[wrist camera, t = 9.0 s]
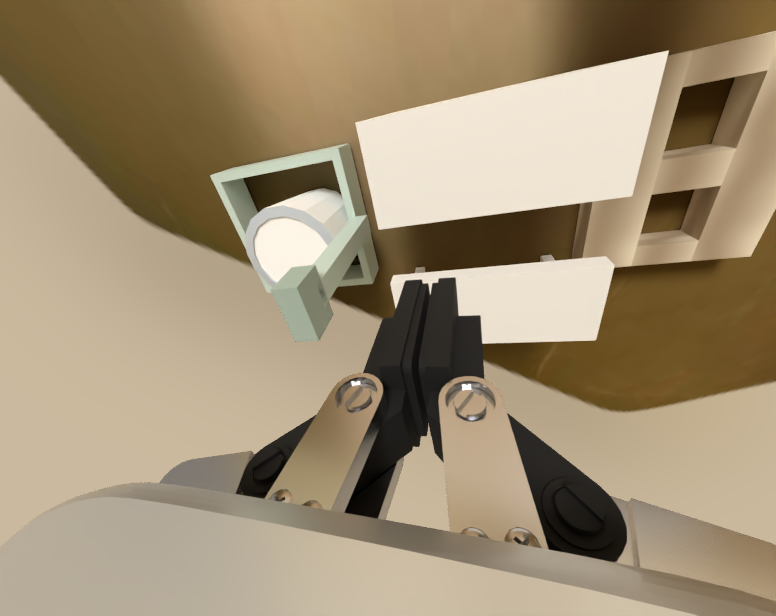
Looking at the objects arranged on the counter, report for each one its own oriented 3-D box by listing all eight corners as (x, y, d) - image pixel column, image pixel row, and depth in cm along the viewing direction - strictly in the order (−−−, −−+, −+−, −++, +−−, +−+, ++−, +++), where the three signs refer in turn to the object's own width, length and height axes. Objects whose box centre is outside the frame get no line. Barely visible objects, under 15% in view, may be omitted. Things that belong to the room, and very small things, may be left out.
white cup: (352, 270, 28) (326, 314, 22) (283, 239, 27) (239, 276, 22) (378, 203, 24) (355, 235, 18) (298, 164, 23) (248, 186, 18)
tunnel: (573, 70, 17) (668, 50, 10) (550, 263, 24) (595, 340, 17) (391, 113, 20) (355, 122, 12) (417, 275, 27) (403, 345, 19)
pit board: (833, 17, 15) (879, 8, 13) (727, 244, 21) (750, 256, 20) (601, 70, 17) (617, 67, 16) (571, 258, 24) (580, 270, 22)
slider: (361, 140, 21) (256, 191, 10) (388, 267, 27) (341, 395, 15) (231, 168, 24) (31, 233, 12) (280, 278, 29) (173, 392, 18)
